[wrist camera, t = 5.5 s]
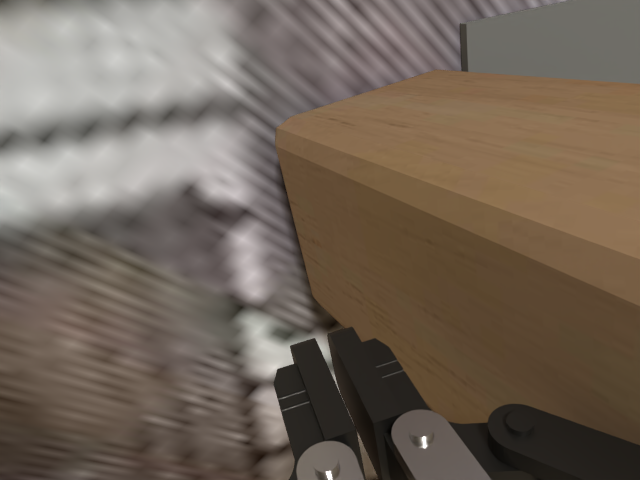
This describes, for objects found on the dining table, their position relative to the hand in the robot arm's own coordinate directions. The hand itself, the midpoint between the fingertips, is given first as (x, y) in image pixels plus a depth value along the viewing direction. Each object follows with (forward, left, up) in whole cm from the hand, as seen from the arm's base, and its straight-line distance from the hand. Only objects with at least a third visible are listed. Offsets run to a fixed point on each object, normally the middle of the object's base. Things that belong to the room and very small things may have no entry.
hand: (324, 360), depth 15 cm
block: (+6, 0, -13) cm, 14 cm away
